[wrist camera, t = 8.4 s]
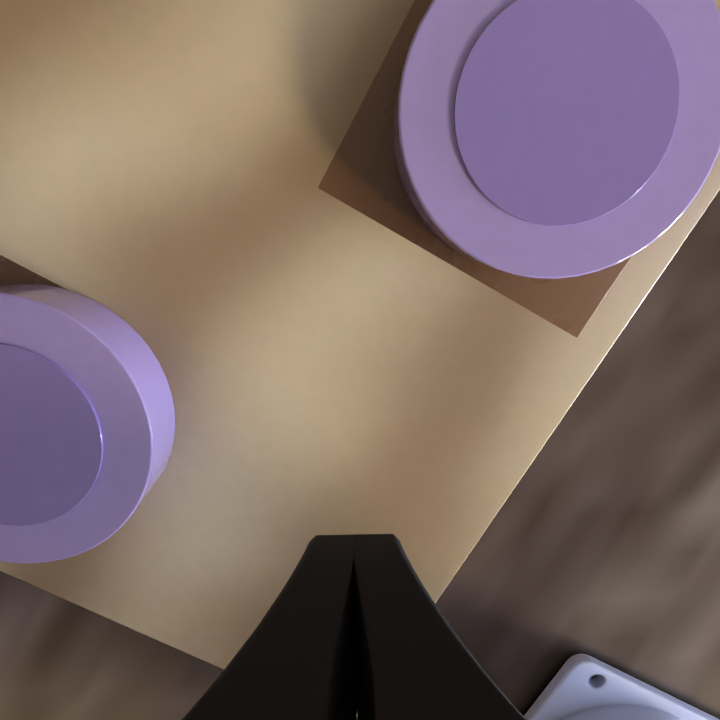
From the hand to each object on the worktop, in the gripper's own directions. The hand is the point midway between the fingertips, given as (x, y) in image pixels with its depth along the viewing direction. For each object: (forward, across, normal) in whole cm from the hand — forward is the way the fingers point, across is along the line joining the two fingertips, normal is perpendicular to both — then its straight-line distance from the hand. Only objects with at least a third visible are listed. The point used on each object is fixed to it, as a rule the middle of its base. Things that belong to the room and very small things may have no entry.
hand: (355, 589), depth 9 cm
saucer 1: (+7, +9, -1) cm, 11 cm away
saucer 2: (+7, -5, -8) cm, 11 cm away
